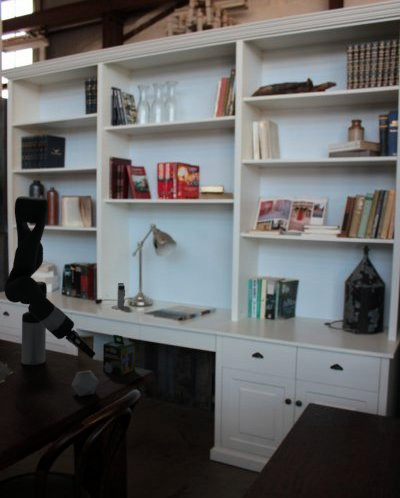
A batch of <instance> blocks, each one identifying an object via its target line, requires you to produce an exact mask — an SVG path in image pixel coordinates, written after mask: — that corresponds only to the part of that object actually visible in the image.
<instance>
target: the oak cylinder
mask: <svg viewBox="0 0 400 498" xmlns="http://www.w3.org/2000/svg"><path fill="white" fill-rule="evenodd" d="M79 336H80V337H81V338H82V339H83V340H84V342H85V343H86V344H87V345H88V346H89V348H90V349H92V350H93V351H94V343H95V342H94V340H95V339H94V338H95V336H94V334H89V333H86V334H85V333H84V334H83V333H82V334H79ZM84 346H86V345H83V346H82V347H81V348H83V347H84ZM93 368H94V356H93V357H92V358H90V357H89V356H88V355H87V354H86V353H85V352H83V351H82V350H81V349H80V348H77V369H79V370H81V371H82V370H84V371H89V370H91V369H93Z"/></svg>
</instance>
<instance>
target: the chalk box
mask: <svg viewBox="0 0 400 498" xmlns="http://www.w3.org/2000/svg"><path fill="white" fill-rule="evenodd" d="M112 338H113V340H111V341H108V342H106V343H104V344H103V345H102V347H103V349H102V350H103V355H102V358H103V359H102V360H103V361H102V362H103V363H102V366H103V368H102V371H103V373H107V374H111V375H113V376H118V377H122V376H124V375H126V374H129V373H131V372H133V371H135V370H136V367H135V366H136V364H135V363H136V362H135V361H136V360H135V358H136V357H135V356H136V352H135V351H136V350H135V349H136V344H135V343H136V342H133V341H129V340H124V337H123V336H122V335H118V334H113V337H112Z"/></svg>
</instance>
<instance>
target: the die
mask: <svg viewBox="0 0 400 498" xmlns="http://www.w3.org/2000/svg"><path fill="white" fill-rule="evenodd" d="M99 382H100V380H99V379H98V377H97V376H95V374H94V372H93V371H92V370H91V369H88V370H84V371H82V370H81V371H78V372H77V371H76V373H75V376H74V377H73V381H72V382H71V387H72V389H73V390H74V392H75V393H76V394H77V396H78V397H80V398H81V397H86V396H89V395H94V394H95V391H96V389H97V387H98V384H99Z"/></svg>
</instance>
